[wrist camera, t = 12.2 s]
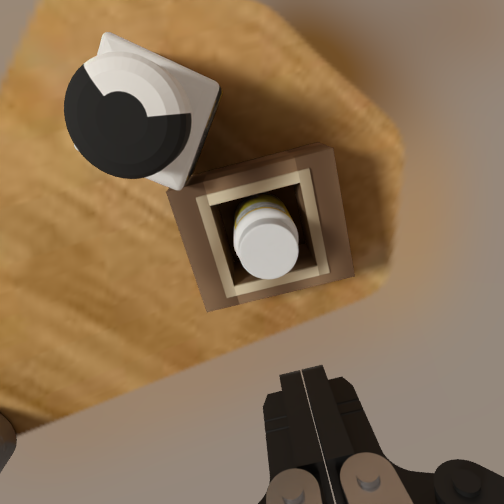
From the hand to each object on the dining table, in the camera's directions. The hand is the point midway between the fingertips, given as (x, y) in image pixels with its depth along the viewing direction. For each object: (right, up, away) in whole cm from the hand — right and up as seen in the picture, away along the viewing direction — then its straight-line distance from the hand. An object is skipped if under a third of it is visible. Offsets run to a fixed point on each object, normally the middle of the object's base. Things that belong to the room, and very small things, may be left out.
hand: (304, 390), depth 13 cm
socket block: (-1, +8, +20) cm, 21 cm away
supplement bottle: (-1, +8, +20) cm, 22 cm away
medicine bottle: (-9, +15, +17) cm, 24 cm away
